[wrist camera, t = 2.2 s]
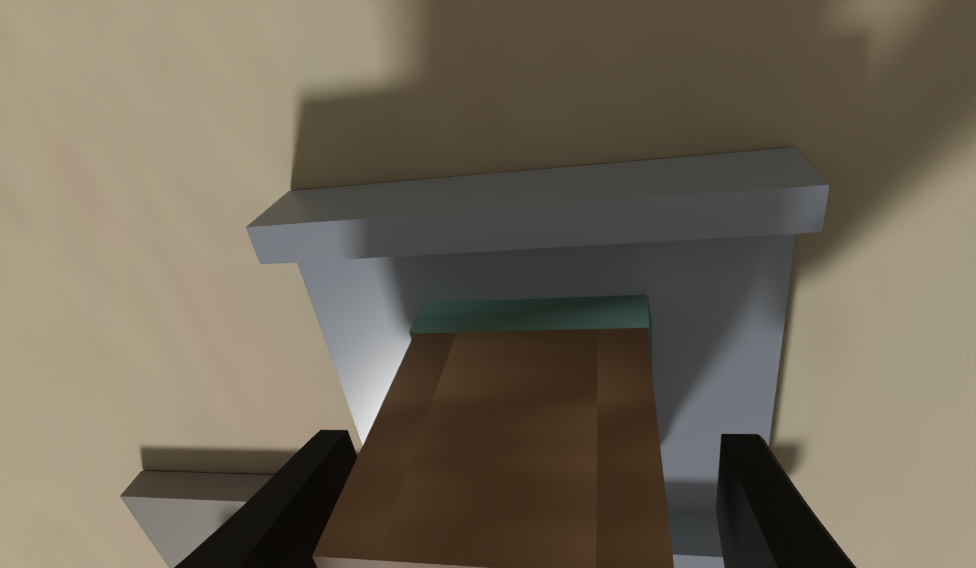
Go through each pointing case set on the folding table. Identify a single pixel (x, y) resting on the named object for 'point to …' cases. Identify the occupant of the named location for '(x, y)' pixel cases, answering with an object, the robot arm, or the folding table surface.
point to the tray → (576, 282)
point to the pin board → (186, 506)
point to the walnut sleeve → (512, 444)
